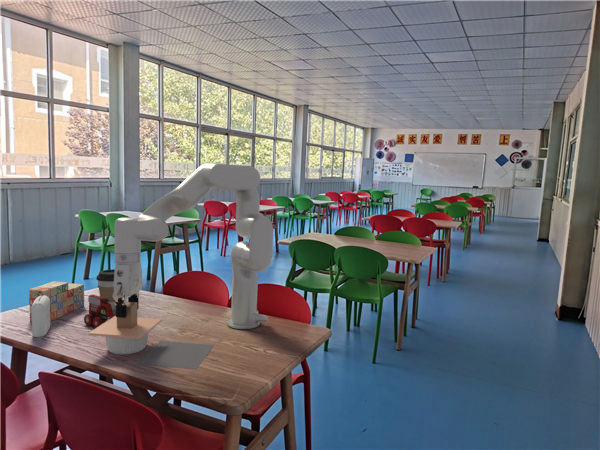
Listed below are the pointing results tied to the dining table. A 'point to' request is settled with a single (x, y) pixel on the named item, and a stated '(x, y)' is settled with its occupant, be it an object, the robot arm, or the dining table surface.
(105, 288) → the coffee cup
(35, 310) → the photo printer
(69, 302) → the stack of blocks
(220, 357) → the dining table surface
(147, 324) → the cover
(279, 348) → the dining table surface
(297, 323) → the dining table surface
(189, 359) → the mat
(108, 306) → the toy fire truck
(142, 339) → the ramekin
